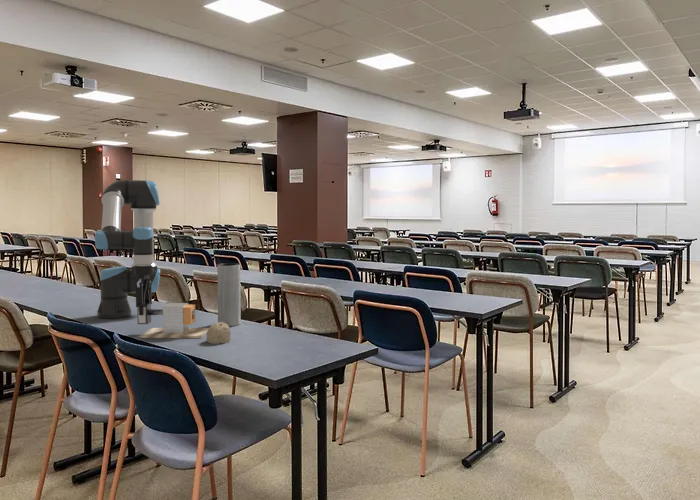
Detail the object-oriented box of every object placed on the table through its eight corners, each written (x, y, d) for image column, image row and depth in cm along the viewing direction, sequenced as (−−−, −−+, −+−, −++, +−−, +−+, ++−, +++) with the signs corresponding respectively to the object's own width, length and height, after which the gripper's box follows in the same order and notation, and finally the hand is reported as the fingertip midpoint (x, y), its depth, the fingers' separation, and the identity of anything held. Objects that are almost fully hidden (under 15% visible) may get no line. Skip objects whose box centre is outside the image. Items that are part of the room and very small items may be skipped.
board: (140, 337, 218) (140, 335, 218) (152, 330, 232) (152, 327, 232) (201, 338, 219) (201, 335, 219) (209, 330, 233) (209, 328, 233)
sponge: (231, 351, 214) (238, 328, 219) (220, 342, 206) (228, 318, 211) (210, 349, 217) (218, 326, 222) (199, 340, 209) (207, 316, 214)
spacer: (183, 324, 222) (183, 307, 221) (188, 321, 229) (187, 304, 228) (190, 324, 222) (190, 307, 221) (195, 321, 229) (195, 304, 228)
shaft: (137, 324, 222) (137, 304, 222) (141, 321, 227) (141, 302, 226) (192, 324, 223) (192, 305, 222) (194, 322, 227) (194, 303, 227)
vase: (239, 321, 252) (238, 263, 250) (241, 325, 243) (241, 265, 241) (216, 322, 249) (216, 263, 247) (218, 327, 240) (218, 265, 238)
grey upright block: (163, 333, 221) (162, 306, 220) (169, 329, 229) (168, 303, 228) (183, 333, 221) (182, 306, 221) (188, 329, 229) (188, 303, 229)
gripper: (141, 262, 231) (142, 317, 233) (126, 267, 214) (127, 326, 216) (159, 262, 232) (160, 317, 233) (145, 267, 214) (146, 326, 216)
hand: (144, 321), depth 225 cm, fingers closed on shaft, 4 cm apart
